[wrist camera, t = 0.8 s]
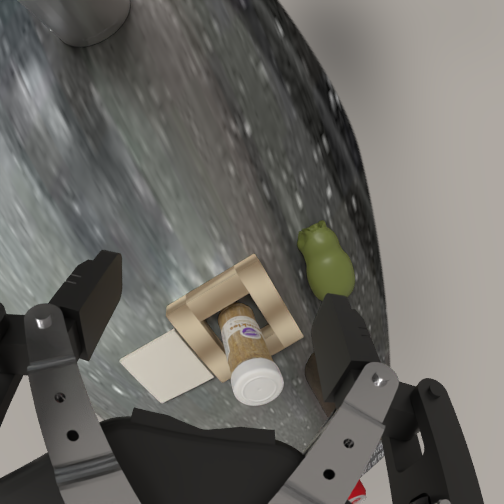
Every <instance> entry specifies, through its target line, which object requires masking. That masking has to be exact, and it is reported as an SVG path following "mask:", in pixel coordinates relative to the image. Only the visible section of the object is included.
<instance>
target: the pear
mask: <svg viewBox="0 0 504 504" xmlns="http://www.w3.org/2000/svg"><path fill="white" fill-rule="evenodd" d="M297 246H298V249H299V250H300V251H301V252H302V254H303V256H304V259H305V261H306V265H307V270H306V272H307V279H308V282H309V285H310V288H311V290H312V291H313V293H314V294H315V296H316V297H317V298H318V299H319V300H321V301H323V299H324V297H325V295H326V294H327V293H331V294H338V295H344V296H346V297H348V296H349V295H350V294H351V293H352V291H353V289H354V285H355V275H354V269H353V265H352V262H351V260H350V258H349V256H348V255H347V254H346V253H345V252H344V251H343V250H342V248H341V246H340V244H339V241H338V238H337V236H336V235H335V233H334V232H333V231H331V230H330V229H329V228H328V227H326V224H325V222H324V221H320V222H318V223H317V224H314V225H312V226H309V228H308V227H307V228H306V229H302V231H299V235H298V242H297Z"/></svg>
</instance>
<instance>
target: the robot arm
mask: <svg viewBox="0 0 504 504" xmlns="http://www.w3.org/2000/svg"><path fill="white" fill-rule="evenodd" d="M18 1H19V2H20V3H21V4H22V5H23V6H24V7H26V8H27V9H28V10H29V11H30V12H31V13H32V14H33V15H34V16H36V17H37V18H38V19H39V20H40V21H41V22H42V23H43V24H44V25H46V26H47V27H48V28H49V29H50V30H51V31H52V32H53V33H54V34H55V35H56V36H58V37H59V38H60V39H61V40H62V41H63V42H64V43H66V44H68V45H71V46H75V47H85V46H90V45H93V44H96V43H99V42H101V41H103V40H105V39H106V38H108V37H109V36H111V35H112V34H113V33H115V32H116V31H117V30H118V29H119V28H120V27H121V25H122V24H123V23H124V21H125V19H126V18H127V16H128V13H129V10H130V0H18ZM121 294H122V256H121V254H120V253H116V252H111V251H106V250H101V251H100V253H99V254H98V255H97V256H96V258H95V259H94V260H93V261H92V260H87V261H85V262H83V263H81V264H80V265H78V266H77V267H76V268H75V270H74V271H73V272H72V273H71V275H70V276H69V277H68V278H67V280H66V282H64V283H63V285H62V286H61V287H60V288H59V290H58V291H57V292H56V294H55V295H54V296H53V298H52V299H51V300H50V302H49V303H48V304H39V305H36V306H34V307H32V308H31V309H29V310H28V311H27V313H26V314H25V315H13V314H6V311H5V308H4V306H3V305H2V303H0V426H1V424H2V422H3V419H4V417H5V414H6V412H7V409H8V407H9V405H10V403H11V401H12V398H13V396H14V394H15V392H16V390H17V387H18V385H19V383H20V381H21V379H22V377H23V375H28V376H29V382H30V387H31V391H32V396H33V400H34V405H35V409H36V413H37V417H38V421H39V424H40V428H41V431H42V435H43V438H44V441H45V445H46V448H47V451H48V453H46V454H44V455H42V456H41V457H39V458H37V459H35V460H33V461H32V462H30V463H28V464H26V465H24V466H23V467H21V468H19V469H17V470H15V471H13V472H11V473H9V474H8V475H6V476H4V477H2V478H0V504H352V503H351V502H350V501H349V500H348V497H349V496H350V494H351V492H352V491H353V489H354V487H355V486H356V484H357V482H358V480H359V479H360V477H361V475H362V473H363V471H364V470H365V468H366V466H367V464H368V462H369V460H370V458H371V456H372V454H373V452H374V450H375V448H376V446H377V444H378V442H379V440H380V438H381V440H382V445H383V450H384V455H385V460H386V466H387V471H388V477H389V483H390V489H391V495H392V502H393V504H484V502H483V498H482V494H481V490H480V487H479V483H478V479H477V476H476V473H475V469H474V466H473V463H472V460H471V456H470V453H469V450H468V447H467V444H466V441H465V438H464V435H463V432H462V430H461V427H460V424H459V421H458V419H457V416H456V413H455V411H454V408H453V406H452V403H451V401H450V398H449V396H448V393H447V391H446V389H445V388H444V387H443V385H442V384H440V383H439V382H438V381H436V380H434V379H429V378H426V379H423V380H421V381H420V382H419V384H418V385H417V386H412V385H409V384H406V383H402V382H399V380H398V377H397V375H396V373H395V372H394V371H393V370H392V369H391V368H390V367H389V366H387V365H385V364H383V363H381V362H380V360H379V357H378V355H377V352H376V349H375V347H374V344H373V342H372V339H371V338H370V334H369V332H368V330H367V327H366V324H365V322H364V319H363V318H362V317H361V316H360V314H359V313H358V312H357V311H356V310H353V309H351V307H350V304H349V302H348V299H347V297H346V296H344V295H338V294H331V293H327V294H326V295H325V297H324V299H323V301H322V304H321V306H320V308H319V311H318V313H317V315H316V318H315V320H314V322H313V325H312V331H311V337H312V342H313V347H314V352H315V357H316V362H317V367H318V373H319V378H320V383H321V389H322V394H323V400H324V402H331V403H335V406H336V408H335V409H334V411H333V412H332V413H331V415H330V416H329V418H328V419H327V421H326V422H325V423H324V425H323V426H322V428H321V429H320V430H319V432H318V433H317V435H316V436H315V437H314V439H313V440H312V441H311V443H310V444H309V445H308V446H307V448H306V449H305V450H304V451H303V453H301V452H300V451H298V450H297V449H295V448H294V447H292V446H290V445H288V444H286V443H283V442H281V441H278V440H275V430H267V429H255V428H245V427H235V428H225V429H212V430H203V429H199V428H197V427H194V426H192V425H189V424H187V423H185V422H182V421H180V420H178V419H175V418H173V417H171V416H168V415H164V414H159V413H155V412H151V411H146V410H142V409H138V408H134V409H133V413H132V416H126V417H116V418H111V419H107V420H104V421H102V422H99V421H98V419H97V417H96V414H95V412H94V409H93V407H92V404H91V401H90V399H89V396H88V394H87V391H86V388H85V385H84V383H83V380H82V377H81V374H80V371H79V368H78V365H77V361H78V359H79V358H80V359H83V360H86V361H89V360H90V358H91V356H92V354H93V352H94V350H95V348H96V346H97V344H98V342H99V340H100V338H101V336H102V334H103V332H104V330H105V328H106V326H107V324H108V322H109V320H110V318H111V316H112V314H113V312H114V310H115V308H116V306H117V305H118V303H119V301H120V298H121ZM419 431H420V432H421V436H422V439H423V443H424V454H423V456H422V452H421V448H420V444H419V440H418V437H417V433H418V432H419Z"/></svg>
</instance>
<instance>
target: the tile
mask: <svg viewBox="0 0 504 504" xmlns="http://www.w3.org/2000/svg"><path fill="white" fill-rule="evenodd" d="M120 363H121V364H122V365H123V366H124V367H125V368H126V369H127V370H128V371H129V372H130V373H131V374H132V375H133V376H134V377H135V378H136V379H137V380H138V381H139V382H140V383H141V384H142V385H143V386H144V387H145V388H146V389H147V390H148V391H149V392H150V393H151V394H152V395H153V396H154V397H155V398H156V399H157V400H158V401H159V402H161V403H164V402H166V401H168V400H170V399H172V398H174V397H176V396H178V395H180V394H182V393H184V392H186V391H188V390H190V389H192V388H194V387H196V386H198V385H200V384H202V383H204V382H206V381H208V380H210V379H212V378H214V374H213V373H212V372H211V371H210V370H209V369H208V368H207V366H206V365H205V364H204V363H203V362H202V361H201V360H200V358H199V357H198V356H197V355H196V354H195V353H194V351H193V350H192V349H191V348H190V347H189V345H188V344H187V343H186V342H185V341H184V339H183V338H182V337H181V336H180V335H179V333H178V332H177V331H176V330H175V328H174V329H172V330H171V331H169V332H167V333H165V334H164V335H162V336H160V337H158V338H157V339H155V340H153V341H151V342H150V343H148V344H146V345H144V346H143V347H141V348H139V349H137V350H135V351H134V352H132V353H130V354H128V355H127V356H125V357H123V358H121V359H120Z"/></svg>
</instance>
